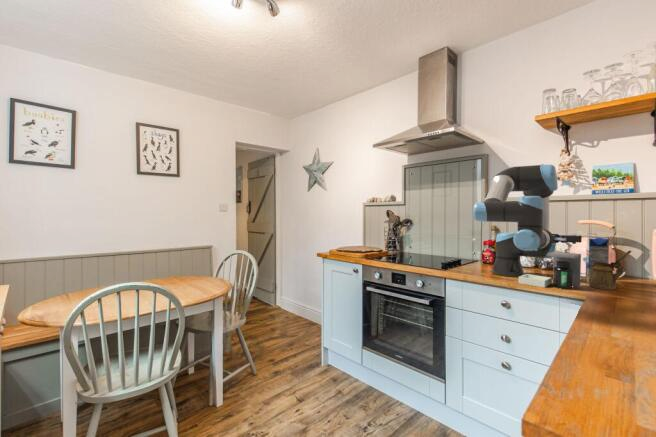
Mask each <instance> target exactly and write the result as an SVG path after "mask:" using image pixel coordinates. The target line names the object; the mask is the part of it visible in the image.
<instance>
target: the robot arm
mask: <svg viewBox="0 0 656 437" xmlns="http://www.w3.org/2000/svg"><path fill="white" fill-rule="evenodd" d="M558 186H559V185H558V176H557V170H556V166H555V165H553V164H544V163H542V164H538V165H537V164H535V165H521V166H520V165H519V166H518V165H517V166H511V167H509V168H506V169H503V170H502V171H500V172H498V173H497V174H496V175H494V176H493V177H492V180H491V181H490V189H489V191H488V192H487V195H486V196H485V199H484V201H477V202H475V203H474V205H473V218H474V220H475V221H477V222H484V223H487V222H488V223H491V222H492V223H493V222H494V223H495V222H496V223H497V222H498V223H500V222H501V223H517V231H509V232H500V233H497V235H496V239H495V260H494V263H493V265H492V268H491V273H492V274H494V275H498V276H503V277H512V278H513V277H514V278H516V277H517V278H519V276H522V275H525V271H524V267H523V266H522V263H521V257H525V258H528V257H529V258H538V259H551V258H554V256H547V253H551V252H556V251H555V250H556V244H558V243H562V244H564V243H565V244H566V243H572V244H577V243H582V239H583V238H582V235H578V234H576V233H574V234H570V235H569V234H568V235H566V234H565V235H564V234H563V235H561V234H558V233H552V232H551V231H550V197H551V196H552V195H553V194H554V192H555V191H558V188H559V187H558ZM511 192H522V193H523V195H522V196H519V197H517V201H507V200H508V197H509V194H510V193H511Z"/></svg>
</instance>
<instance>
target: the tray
mask: <svg viewBox="0 0 656 437" xmlns="http://www.w3.org/2000/svg"><path fill="white" fill-rule="evenodd" d="M518 284H521V285H522V284H523V285H525V286H526V285H527V286H533V287H540V288H547V287H548V285H549V286H551V285H553V277H549V276H542V275H538V274H537V275H536V274H529V273H526V274H525V273H524V275H522V276H519V277H518ZM550 284H551V285H550Z"/></svg>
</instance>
